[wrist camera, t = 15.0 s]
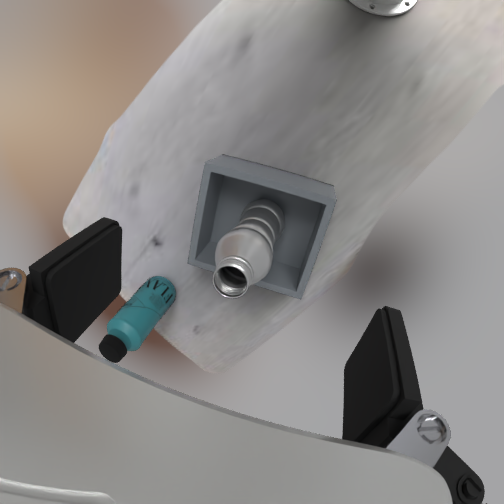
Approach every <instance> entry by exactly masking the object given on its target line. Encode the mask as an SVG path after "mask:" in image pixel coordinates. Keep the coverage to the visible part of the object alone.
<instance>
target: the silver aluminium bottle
mask: <svg viewBox="0 0 504 504" xmlns="http://www.w3.org/2000/svg"><path fill="white" fill-rule="evenodd" d="M284 227H285V220H284V214H283V212H282V210H281V208H280V207H279V206H278V205H277V204H276V203H275V202H273V201H271V200H267V199H259V200H256V201H253V202H251V203H250V204H248V205H247V206H246V207H245V208H244V210H243V211H242V214H241V216H240V220H239V223H238V225H237V226H236V227H235V228H233V229H232V230H230V231H229V232H227V233H226V234H225V235H224V236H223V237H222V238H221V239H220V241H219V242H218V244H217V247H216V251H215V263H216V270H215V271H214V274H213V278H212V281H213V286H214V288H215V289H216V291H217V292H218V293H219V294H221V295H222V296H224V297H226V298H231V299H234V298H239V297H241V296H243V295H244V294H245V293H246V291H247V290H248V288H249V286H250V285H253V284H255V283H257V282H259V281H260V280H261V279H263V278H264V277H265V276H266V275H267V274H268V272H269V270H270V268H271V265H272V260H273V245H274V243H275V241H277V239H278V238H279V237H280V236H281V234H282V232H283V230H284Z"/></svg>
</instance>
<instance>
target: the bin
mask: <svg viewBox="0 0 504 504" xmlns="http://www.w3.org/2000/svg"><path fill="white" fill-rule="evenodd" d="M259 199H267V200H271V201H273V202H275V203H276V204H277V205H278V206H279V207H280V208H281V210H282V212H283V214H284V220H285V227H284V230H283V232H282V234H281V236H280V237H279V238H278V239H277V241H275V243H274V245H273V260H272V265H271V268H270V270H269V272H268V274H267V275H266V276H265V277H264V278H263V279H261V280H260V281H259V282H257V283H255V284H253V285H256V286H259V287H262V288H265V289H268V290H272V291H275V292H278V293H281V294H285V295H288V296H291V297H295V298H298V299H301V298H302V296H303V293H304V290H305V288H306V285H307V282H308V280H309V277H310V274H311V272H312V269H313V266H314V264H315V261H316V258H317V255H318V253H319V250H320V247H321V244H322V241H323V239H324V236H325V233H326V230H327V227H328V224H329V221H330V218H331V215H332V213H333V210H334V207H335V204H336V201H337V199H336V193H335V188H334V186H333V185H330V184H326V183H323V182H320V181H317V180H314V179H310V178H307V177H304V176H301V175H297V174H294V173H290V172H287V171H284V170H280V169H277V168H273V167H269V166H266V165H262V164H258V163H255V162H251V161H247V160H243V159H239V158H236V157H232V156H228V155H224V154H223V155H221V156H218V157H216V158H214V159H212V160H209V161H207V162H205V165H204V170H203V176H202V181H201V186H200V192H199V197H198V203H197V208H196V214H195V220H194V226H193V232H192V238H191V244H190V251H189V257H188V264H190V265H193V266H196V267H199V268H202V269H205V270H209V271H212V272H214V271H215V270H216V263H215V251H216V247H217V244H218V242H219V241H220V239H221V238H222V237H223V236H224V235H225V234H226V233H227V232H229V231H230V230H232V229H233V228H235V227H236V226H237V225H238V223H239V220H240V216H241V214H242V211H243V210H244V208H245V207H246V206H247V205H248V204H250V203H251V202H253V201H256V200H259Z"/></svg>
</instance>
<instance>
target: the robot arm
mask: <svg viewBox="0 0 504 504" xmlns="http://www.w3.org/2000/svg"><path fill="white" fill-rule="evenodd" d="M349 1H350V2H351V3H352V4H354V5H355V6H357V7H358V8H360V9H362V10H364V11H367V12H369V13H372V14H376V15H381V16H395V15H399V14H403V13H405V12H407V11H409V10H410V9H411V8H412V7H413V6H414V5H415V3H416V2H417V0H349ZM405 5H407V6H405ZM371 7H372V8H373V9H370V8H371ZM121 253H122V228H121V227H120V226H119V223H118V222H117V221H115V220H112V219H109V218H105V217H104V218H101V219H100V220H98V221H97V222H95V223H93V224H92V225H90V226H89V227H87V228H85V229H84V230H82V231H81V232H79V233H78V234H76V235H75V236H73V237H71V238H70V239H69V240H67V241H65V242H64V243H62V244H61V245H60V246H58V247H56V248H55V249H54V250H52V251H51V252H49V253H48V254H46V255H45V256H43V257H42V258H41V259H39V260H38V261H36V262H35V263H33V264H32V265H31V266H29V271H30V274H28V275H27V276H26V274H25V273H24V271H22V270H21V269H18V268H5V269H2V270H0V504H482V501H483V498H484V492H485V491H484V485H483V483H482V480H481V479H480V478H479V476H478V475H477V474H476V473H475V472H474V471H473V470H472V469H471V468H470V467H469V466H468V465H467V464H466V463H465V462H464V461H463V460H461V458H460V457H458V456H457V455H456V454H455V453H454V452H453V451H452V450H451V449H450V448H449V447H448V446H447V445H448V443H449V440H450V438H451V431H450V427H449V425H448V423H447V421H446V420H445V419H444V418H443V417H442V416H441V415H440V414H438V413H437V412H435V411H432V410H427V409H424V410H423V405H422V399H421V394H420V389H419V384H418V379H417V374H416V370H415V366H414V361H413V357H412V352H411V348H410V344H409V340H408V336H407V333H406V329H405V325H404V321H403V317H402V314H401V311H400V310H397V309H394V308H390V307H387V306H385V307H383V308H382V309H378V310H377V311H376V312H375V314H374V316H373V318H372V320H371V322H370V323H369V325H368V327H367V329H366V330H365V332H364V334H363V336H362V337H361V339H360V341H359V342H358V344H357V346H356V347H355V349H354V351H353V352H352V354H351V356H350V358H349V359H348V361H347V363H346V365H345V369H344V411H343V436H342V439H338V438H334V437H329V436H324V435H320V434H316V433H311V432H307V431H303V430H299V429H295V428H291V427H287V426H283V425H279V424H275V423H272V422H268V421H265V420H261V419H258V418H254V417H251V416H248V415H244V414H241V413H238V412H235V411H232V410H229V409H226V408H223V407H220V406H217V405H214V404H211V403H208V402H205V401H202V400H199V399H197V398H194V397H191V396H189V395H186V394H183V393H181V392H178V391H176V390H173V389H171V388H168V387H165V386H163V385H161V384H159V383H156V382H154V381H151V380H149V379H147V378H144V377H142V376H140V375H138V374H135V373H133V372H131V371H129V370H127V369H124V368H122V367H120V366H118V365H116V364H114V363H112V362H110V361H108V360H106V359H103V358H101V357H99V356H97V355H95V354H93V353H91V352H89V351H88V350H86V349H84V348H82V347H80V346H78V345H76V344H74V342H75V341H76V340H77V339H78V338H79V337H80V336H81V334H82V333H83V332H84V331H85V330H86V329H87V328H88V327H89V326H90V325H91V324H92V322H93V321H94V320H95V319H96V318H97V317H98V316H99V315H100V314H101V313H102V312H103V311H104V310H105V309H106V308H107V307H108V305H109V304H110V303H111V302H112V301H113V300H114V299H115V298H116V297H117V296H118V295H119V293H120V291H121ZM486 504H487V503H486Z"/></svg>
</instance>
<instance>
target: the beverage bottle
mask: <svg viewBox="0 0 504 504" xmlns="http://www.w3.org/2000/svg"><path fill="white" fill-rule="evenodd" d="M175 297H176V292H175V288H174V286H173V285H172V283H171V282H170V281H169V280H167V279H166V278H164V277H161V276H154V277H152V278H150V279H149V280H148V281H147V282H145V283H144V284H143V286H141V287H140V288H139V289H138V290H137V291H136V293H135V294H134V295H133V297H132V298H131V299H130V300H128V301H127V303H126V304H124V306H122V308H121V309H120V310H119V312H118V313H117V314H116V315H115V316H114V317H113V318H112V319H111V320H110V321H109V322H108V324H107V331H108V335H106V336H105V337H104V338H103V340H102V341H101V343H100V344H99V350H100V352H101V354H102V355H103V356H104V357H105V358H106V359H107V360H109V361H111V362H114V363H117V362H119V361H120V360H121V359H122V358H123V357H124V356H125V355H126V354H127V351H135V350H137V349H139V348H140V346H141V344H142V343H143V341H144V340H145V338H146V337H147V336H148V334H149V333H150V332H151V330H152V329H153V328H154V326H155V325H156V324H157V322H158V321H159V320H160V319H161V317H162V316H163V315H164V313H165V312H166V311H167V309H168V308H169V307H170V305H171V304H172V303H173V302H174V300H175ZM171 306H172V305H171ZM168 310H169V309H168ZM165 314H166V313H165Z"/></svg>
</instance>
